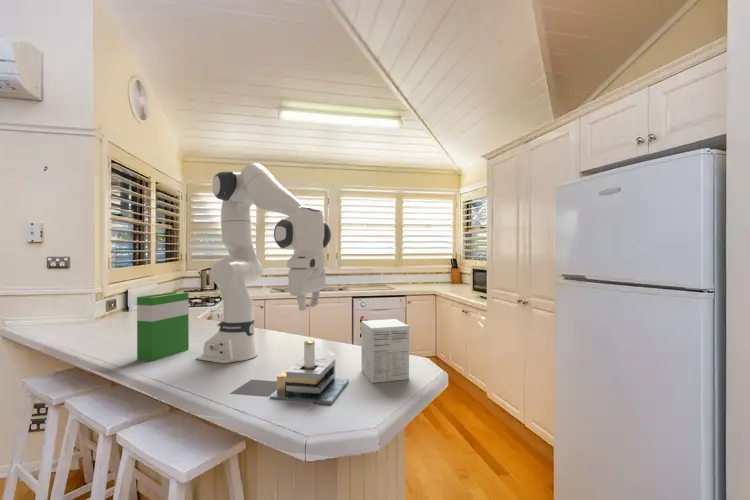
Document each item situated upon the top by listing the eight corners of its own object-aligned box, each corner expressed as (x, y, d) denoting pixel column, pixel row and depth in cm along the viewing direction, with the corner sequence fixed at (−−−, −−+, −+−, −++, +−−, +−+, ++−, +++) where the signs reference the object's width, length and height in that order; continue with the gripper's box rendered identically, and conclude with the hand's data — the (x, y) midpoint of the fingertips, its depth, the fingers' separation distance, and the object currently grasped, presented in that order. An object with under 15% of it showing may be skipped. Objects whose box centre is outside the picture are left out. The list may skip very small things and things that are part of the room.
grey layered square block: (269, 399, 107) (269, 373, 107) (295, 378, 124) (295, 355, 124) (331, 404, 103) (331, 377, 103) (348, 382, 121) (348, 358, 121)
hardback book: (174, 348, 162) (174, 291, 162) (188, 349, 160) (188, 292, 160) (137, 359, 145) (137, 296, 145) (152, 361, 143) (151, 297, 143)
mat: (229, 394, 110) (229, 393, 110) (251, 380, 122) (251, 379, 122) (268, 398, 108) (268, 396, 108) (286, 383, 120) (286, 382, 120)
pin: (302, 390, 111) (302, 342, 111) (306, 387, 114) (306, 340, 114) (312, 391, 110) (312, 343, 110) (315, 387, 113) (316, 340, 113)
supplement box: (410, 379, 123) (410, 325, 123) (371, 383, 119) (371, 328, 119) (396, 367, 136) (396, 318, 136) (360, 370, 132) (360, 320, 132)
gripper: (311, 259, 123) (311, 302, 123) (284, 261, 103) (284, 312, 103) (330, 259, 122) (330, 303, 122) (306, 262, 102) (306, 313, 102)
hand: (308, 307), depth 112 cm, fingers open, 8 cm apart
